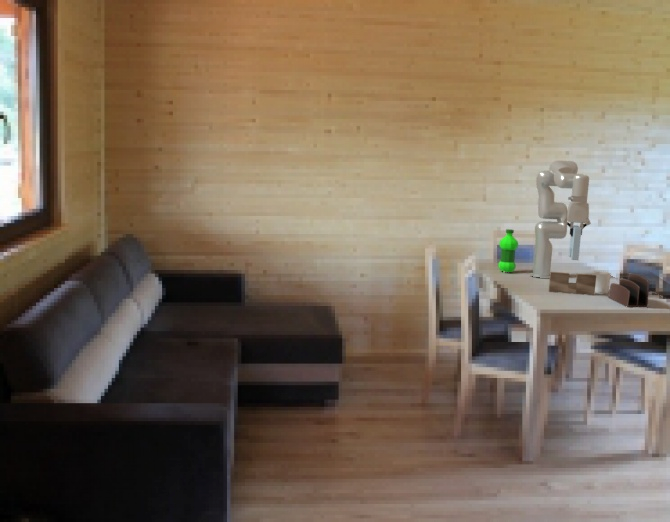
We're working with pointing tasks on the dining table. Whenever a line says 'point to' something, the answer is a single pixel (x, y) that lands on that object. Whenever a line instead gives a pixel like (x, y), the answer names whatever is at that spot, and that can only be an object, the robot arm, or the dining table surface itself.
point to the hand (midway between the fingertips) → (575, 236)
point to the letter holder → (631, 291)
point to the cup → (602, 281)
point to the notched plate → (575, 243)
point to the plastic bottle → (508, 252)
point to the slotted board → (582, 285)
